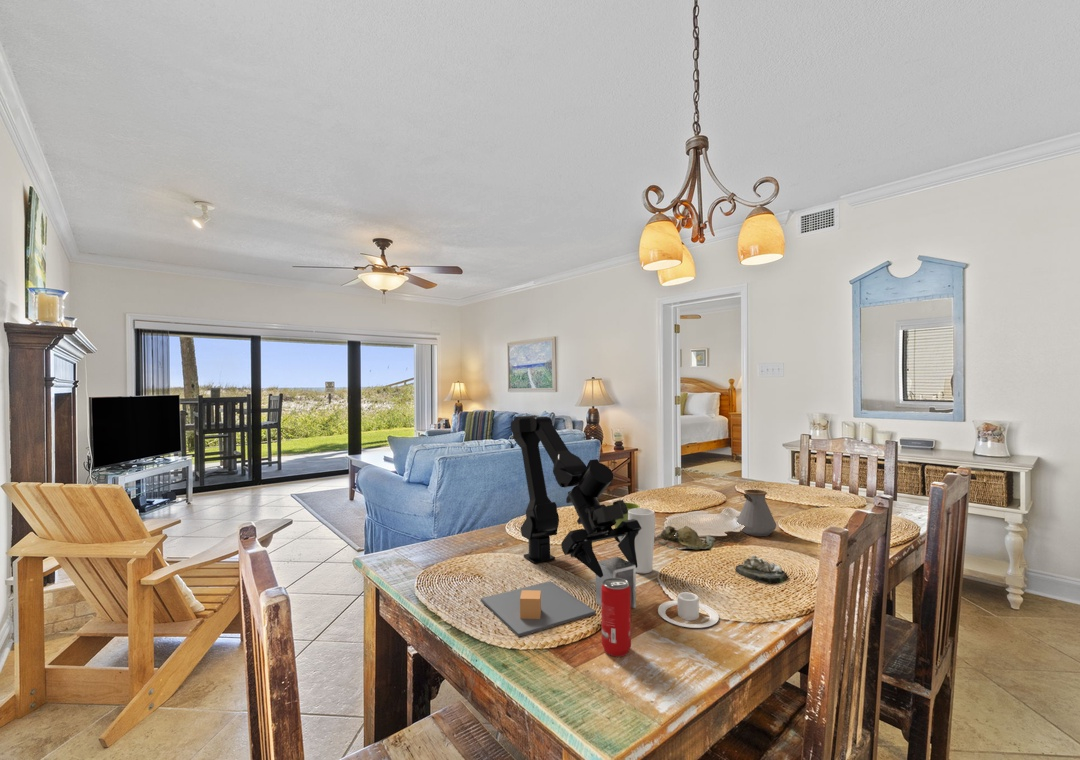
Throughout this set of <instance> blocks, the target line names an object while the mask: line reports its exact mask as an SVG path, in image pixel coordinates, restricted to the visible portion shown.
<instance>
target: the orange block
mask: <svg viewBox="0 0 1080 760" xmlns="http://www.w3.org/2000/svg"><path fill="white" fill-rule="evenodd" d="M540 615H541V591H537V590H522V592H521V596H520V619H540Z"/></svg>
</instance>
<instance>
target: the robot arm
mask: <svg viewBox="0 0 1080 760" xmlns="http://www.w3.org/2000/svg"><path fill="white" fill-rule="evenodd" d="M510 431H511V432H512V437H513V439H514V442H515V443H516V444H517V445H518V447H519V448H520V450H521V455H522V461H523V466H524V472H525V473H524V474H525V478H526V484H527V491H528V497H529V502H528V504H527V506H526V507H527V508H526V509H525V516H526V517H525V520H524V522H523V523H522V524H521V527H520V533H521V536H522V537H523V538H526V540H528V553H525V554H523V558H525V559H527V561H530V562H532V563H533V564H539V563H543V562H548V561H552V560H555V559H556V557H555V556H554V555H552V554H551V536H557V534H558V530H559V529H558V528H559V523H560V517H559V513H558V507H557V503H556V502H552V501H551V500H550V498H549V496H548V493H547V486H546V481H545V475H544V470H543V463H542V457H541V451H540V442H541V444H542V446H543V449H545V451H546V452H547V454H548V456H549V458H550V460H551V462H552V464H553V467H552V473H553V476H554V479H555V481H556V482H557V485H558V486H559V487H560V488H570V487H571V488H572V487H573V488H572V489H571V491H570V490H569V491H568V492H567V495H566V498H565V499H566V501H565V502H566V504H572V506H573V507H574V509H575V512H576V514H577V516H578V519H577V520H576V521H577V525H582V527H583V528H579V529H574V530H569V531H568V533H567V535H566V536H565V537H564V539H563V540H562V541H561V550H562V552H563V555H565V556H568V555H570V557H571V558H575V559H577V560H578V561H579V562H581V563H582V564H584V565H585V566H586V567H587V568H588V569H589V570H590V571H591V572H593V573H594V574H595V576H596V575H597V576H599V577H600V578H601V577H602V576H603V572H602V569H601V567H600V565H599V563H598V561H599V560H598V558H597V556H596V554H595V552H594V550H593V543H595V542H599V541H605V540H610V539H614V540H615V542H617V543H618V544H617V548H619V550H620V551H621V553H622V555H623V556H624V558H625V559H626V561H628V562H630V563H632V564H634V565H636V568H637V566H638V565H637V559H636V552H635V537H636V536H637V535H638V533H639V531H640V530H641V529H642V528H641V526H640V524H639V522H638V521H637V520H635V519H631V520H626V521H622V522H621V523H620V524H619V526H618V527H617V528H615V526H614V525H615V524H616V521H615V520H617V519H623V518H624V516H623V515H624V514H627V513H628V509H627V506H626V504H625V503H626V502H625V501H624V499H620V500H616V501H613V502H612V504H613V505H611V504H610V505H605V504H600V501H599V500H598V498H599V497H601V496H602V495H603V493H605V491H606V489H607V488H608V487H609V485H610V484H611V482H612V481H613V479H614V473H613V471H612V470H611V468H609V466H607V465H606V464H604V463H602V462H600V461H599V458H598V459H590V460H589V461H588V463H587V465H586V463H585V462H584V461H583V460H582V459H581V458H580V457H579V456H578V455H576V454H574V453H572V452H571V451H570V449H569V448H568V447H567V445H566V444H565V443H564V441H563V438H562V437H561V436H560V434H559V432H557V429H556V428H555V426H554V425H553V420H552V418H551V417H549V416H537V415H520V416H514V418H513V420H511V422H510ZM624 502H625V503H624ZM613 527H614V528H613Z"/></svg>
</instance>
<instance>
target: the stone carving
mask: <svg viewBox="0 0 1080 760" xmlns="http://www.w3.org/2000/svg"><path fill="white" fill-rule="evenodd" d="M735 573H736V574H738V575H741V576H742V577H745V578H747V579H750V580H752V581H755V582H760V583H762V584H764V583H765V584H770V585H772V584H781V583H784V582H785V581H788V579H789V575H788V573H787V572H786V571H784V570H783V569H782V567H781V566H780V565H778V564H775V563H773V562H771V563H769V562H768V561H766V560H763V558H760V557H757V555H751V556H750V557H749V558H746V559H745V560H744V561H743V564H739V565H736V566H735Z"/></svg>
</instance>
